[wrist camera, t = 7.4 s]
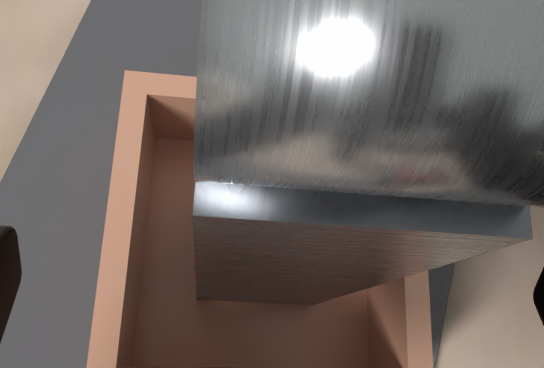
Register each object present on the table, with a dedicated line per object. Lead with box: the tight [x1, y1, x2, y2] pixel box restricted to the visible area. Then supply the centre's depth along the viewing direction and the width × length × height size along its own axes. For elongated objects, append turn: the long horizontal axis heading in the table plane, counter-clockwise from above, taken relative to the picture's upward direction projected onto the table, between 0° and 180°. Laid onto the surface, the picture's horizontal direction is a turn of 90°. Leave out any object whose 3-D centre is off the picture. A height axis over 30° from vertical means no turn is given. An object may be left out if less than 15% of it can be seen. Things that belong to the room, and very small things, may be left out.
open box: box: [86, 70, 433, 368], centre depth 16 cm, size 9×9×4 cm
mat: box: [0, 0, 454, 368], centre depth 18 cm, size 22×16×1 cm
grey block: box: [193, 0, 544, 305], centre depth 11 cm, size 3×4×14 cm
